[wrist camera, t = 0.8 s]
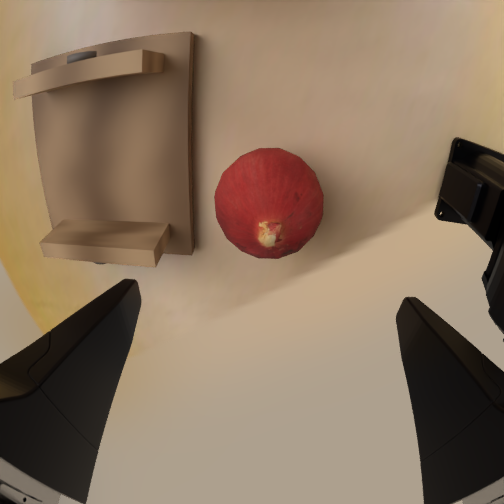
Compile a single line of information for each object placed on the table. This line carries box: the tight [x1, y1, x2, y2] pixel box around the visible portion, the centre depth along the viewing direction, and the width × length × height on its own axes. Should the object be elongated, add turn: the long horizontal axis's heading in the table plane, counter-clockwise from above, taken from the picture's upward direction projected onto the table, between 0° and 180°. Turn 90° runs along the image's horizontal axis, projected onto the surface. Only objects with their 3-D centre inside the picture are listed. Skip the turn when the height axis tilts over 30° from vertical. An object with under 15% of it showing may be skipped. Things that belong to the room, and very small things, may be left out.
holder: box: [13, 32, 195, 267], centre depth 16 cm, size 12×15×4 cm
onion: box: [214, 148, 323, 259], centre depth 16 cm, size 6×6×8 cm
